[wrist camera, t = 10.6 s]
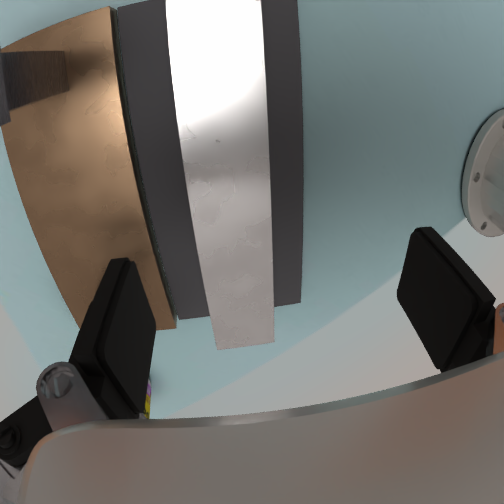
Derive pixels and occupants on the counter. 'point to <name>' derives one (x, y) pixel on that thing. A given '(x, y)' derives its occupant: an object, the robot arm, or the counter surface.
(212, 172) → the rail
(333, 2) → the counter surface
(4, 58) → the rail stand
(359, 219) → the counter surface
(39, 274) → the counter surface
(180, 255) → the mat
